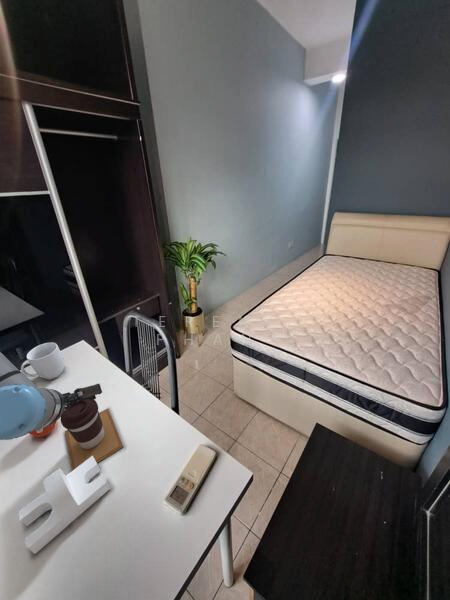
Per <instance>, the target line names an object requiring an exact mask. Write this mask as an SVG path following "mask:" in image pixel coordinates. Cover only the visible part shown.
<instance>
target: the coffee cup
mask: <svg viewBox="0 0 450 600" xmlns="http://www.w3.org/2000/svg"><path fill="white" fill-rule="evenodd" d="M99 413H100V412H99V405H98V403H97V401H96V399H94V400H92V399H91V400H88V399H86V400H83V401H80V402H78V403H75V404H74V405H73V406H72V407H70V408H68V409H65V410H64V412H63V414H62V416H61V417H60V418H59V421H60V424H61V426H62V427H63V428H64V429H66V430H68V431H69V432H70V434H71V435H72V436H73V438H74V439H75V440H76V441H77V442H78V443H79V444H80V446H81V447H82V448H84V449H90V448H93V447H95V446H96V445H98V444H99V443H100V442H101V441H102V439H103V437H104V429H103V426H102V425H103V424H102V420H101V417H100V414H99Z"/></svg>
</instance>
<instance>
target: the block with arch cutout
mask: <svg viewBox="0 0 450 600" xmlns="http://www.w3.org/2000/svg"><path fill="white" fill-rule="evenodd" d="M101 471H102V470H101V468H100V467H99V463H96V461H95V459H94V457H93V456H91V457H90V458H89V459H87V460H86V461H85V462H83V463H82V464H81V465H79V466H78V467H77V468H75V469H74V470H72V471H70V472H69V473H67V474H65V472H64V471H63V469H61V468H60V467H59V468H57V469H56V470H55V471H54V472H52V473H51V474H50V475H48V476H47V477H45V478H44V479H43V481H42V482H43V487H44V490H45V491H43V492H42V493H41V494H39V495H38V496H37V497H35V498H34V499H33V500H31V501H30V502H28V503H27V504H26V505H24V506H23V507H21V509H19V511H18V517H19V520H20V521H21V523H23V524H24V525H25V526H26V527H29V525H31V524H32V523H33V522H35V521H36V520H37V519H38V518H39V517H41V516H42V515H44V514H45V513H46V512H48V511H50V510H51V512H50V514H49V516H48V518H47V519H46V520H45V521H44V522H43V523H42V524H40V525H39V527H37V528H36V529H35V530H33V531H32V532H31V533H30V534H29V535H27V536H26V537H25V538H24V543H25V547H26V548H27V549H28V550H29V551H30V552H31V553H32V554H34V555H36V554H37V553H38V552H40V551H41V550H42V549H43V548H44V547H45V546H47V545H48V544H49V543H50V542H51V541H52V540H54V538H56V537H57V536H58V535H59V534H60V533H61V532H62V531H64V530H65V529H66V528H67V527H68V526H69V525H70V524H71V523H72V522H74V521H75V520H76V519H78V518H79V517H80V516H81V515H82V514H83V513H84V512H85V511H87V509H89V508H90V507H91V506H92V505H93V504H94V503H95V502H97V501H98V500H99V499H100V498H101V497H102V496H104V495H105V494H106V493H108V491H109V490H111V486H110V485H109V483H108V481H107V479H106V477H105V475H104V474H103V473H101V474H100V475H99V476H98V477H96V478H95V479H94V480H93V481H91V479H93V478H94V477H95V476H97V474H99V473H100V472H101ZM90 481H91V482H90Z"/></svg>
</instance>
